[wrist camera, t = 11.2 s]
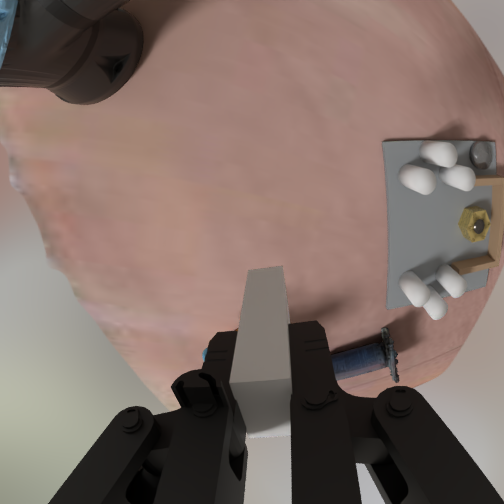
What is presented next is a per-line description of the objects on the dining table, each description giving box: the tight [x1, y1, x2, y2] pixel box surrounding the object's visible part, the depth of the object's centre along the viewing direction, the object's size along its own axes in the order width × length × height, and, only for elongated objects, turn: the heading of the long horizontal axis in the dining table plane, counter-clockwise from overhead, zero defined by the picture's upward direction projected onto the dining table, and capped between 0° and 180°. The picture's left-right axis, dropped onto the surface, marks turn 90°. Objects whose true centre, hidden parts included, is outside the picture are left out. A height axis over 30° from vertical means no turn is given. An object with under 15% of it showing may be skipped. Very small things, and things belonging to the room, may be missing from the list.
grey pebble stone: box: [469, 141, 492, 170], centre depth 30 cm, size 4×4×1 cm
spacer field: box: [382, 140, 504, 320], centre depth 32 cm, size 24×20×6 cm
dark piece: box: [331, 327, 399, 383], centre depth 42 cm, size 9×8×12 cm
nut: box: [458, 206, 491, 243], centre depth 33 cm, size 4×5×2 cm
